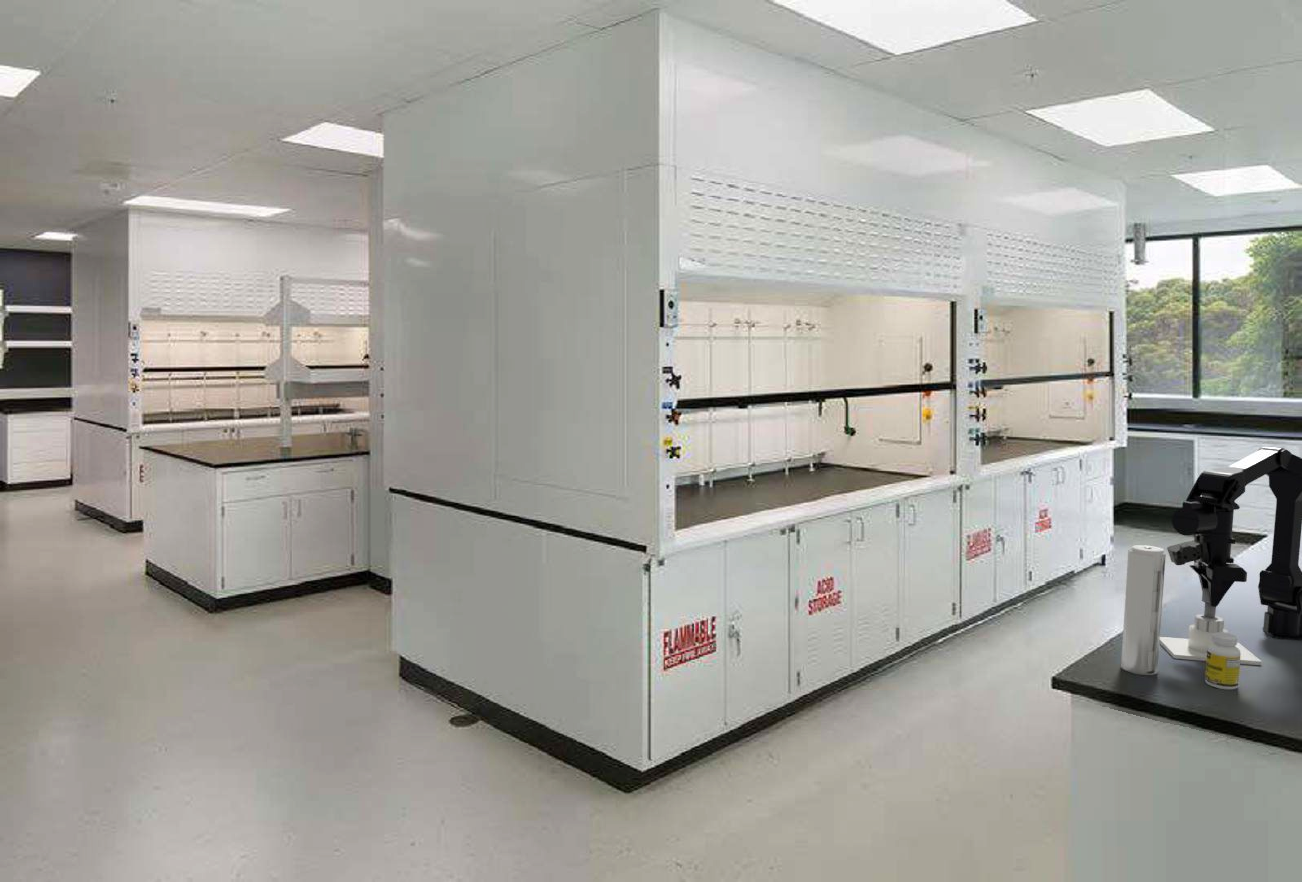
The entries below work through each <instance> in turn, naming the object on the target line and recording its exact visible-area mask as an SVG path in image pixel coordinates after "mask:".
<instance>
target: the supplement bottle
mask: <svg viewBox="0 0 1302 882" xmlns="http://www.w3.org/2000/svg"><path fill="white" fill-rule="evenodd" d="M1212 641H1213V643H1212V644H1210V645H1209V646H1208V648H1207V659H1206V661H1205V663H1206V664H1205V674H1204V675H1205V676H1204V677H1205V678H1204V681H1205V683H1206V685H1208V686H1209V687H1210V686H1211V687H1213V688H1215V689H1220V690H1227V691H1228V690H1236V689H1238V687H1239V682H1240V680H1239V679H1240V666H1241V664H1240V655H1241V653H1240V650H1239V649H1238V648H1237V647H1235V646H1236V645H1237V643H1238V637H1237V635H1234V634H1231V633H1229V632H1228V633H1221V632H1216V633H1213V635H1212Z"/></svg>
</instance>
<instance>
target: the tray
mask: <svg viewBox="0 0 1302 882" xmlns="http://www.w3.org/2000/svg"><path fill="white" fill-rule="evenodd" d="M1188 639H1189V638H1182V637H1169V636H1167V637H1166V636H1160V645H1161V646H1162V647H1163V648H1164V650H1166V652H1168V654H1169V655H1170V656H1171V657H1172V658H1174V659H1175V660H1176V659H1179V660H1188V661H1190V660H1191V661H1202V662H1206V659H1207V653H1203V652H1199V651H1195V650H1193V649H1191V648H1189V647H1188ZM1235 647H1237V648H1238V649H1239V650H1240V653H1241V655H1240V665H1251V666H1252V665H1253V666H1262V665H1263V664H1262V663H1263V662H1262V660H1261V659H1259V658H1258V657H1257V656H1255V654H1253V653H1252V652H1251V651H1250V650H1248V649H1247V648H1246V647H1245V646H1243V645H1242V644H1241V643H1240V642H1237V645H1236V646H1235Z"/></svg>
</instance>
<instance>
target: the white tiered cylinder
mask: <svg viewBox="0 0 1302 882" xmlns="http://www.w3.org/2000/svg"><path fill="white" fill-rule="evenodd" d="M1224 624H1225V619H1224V618H1223V617H1220V616H1218V615H1215V618H1206V617H1204V613H1203V614H1202V613H1201V614H1195V615H1194V624H1190V625H1189V627H1188V638H1187V639H1188V647H1189V648H1191V649H1193V650H1195V651H1199V652H1203V653H1207V648H1208V646H1209V645H1210V644H1212V643H1213V641H1212V635H1213V633H1216V632H1221V633H1228V634H1229V631H1228V630H1227V629H1225V628H1224V627H1225V626H1224Z"/></svg>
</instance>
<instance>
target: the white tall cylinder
mask: <svg viewBox="0 0 1302 882" xmlns="http://www.w3.org/2000/svg"><path fill="white" fill-rule="evenodd" d="M1127 551H1128V552H1127V561H1126V562H1127V563H1126V564H1127V566H1126V578H1125V597H1124V610H1123V611H1124V612H1123V630H1122V641H1121V642H1122V645H1121V659H1120V660H1121V661H1120V666H1121V667H1120V668H1121V669H1122V670H1124V671H1125V672H1128V673H1131V674H1135V675H1139V676H1155V675H1156V674H1158V672H1159V659H1160V645H1161V644H1160V637H1161V628H1162V627H1161V626H1162V613H1163V599H1164V585H1165V584H1164V583H1165V570H1166V569H1165V567H1166V553H1165V549H1164V548H1162V547H1158V546H1153V545H1145V544H1137V545H1132V546H1131V548H1130V549H1128V550H1127Z"/></svg>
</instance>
